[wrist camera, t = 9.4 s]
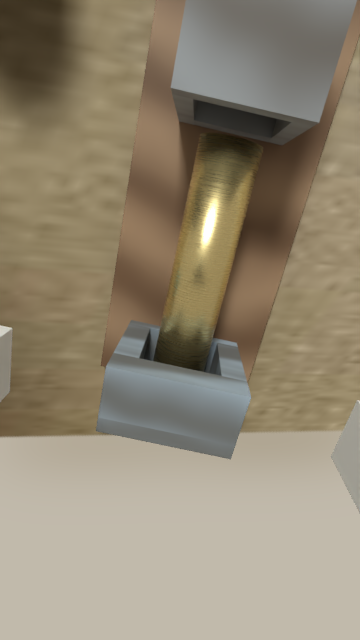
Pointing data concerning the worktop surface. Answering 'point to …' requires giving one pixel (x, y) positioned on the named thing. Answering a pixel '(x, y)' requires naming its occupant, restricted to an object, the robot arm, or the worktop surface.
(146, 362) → the rig
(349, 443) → the robot arm
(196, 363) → the tube
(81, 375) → the worktop surface
